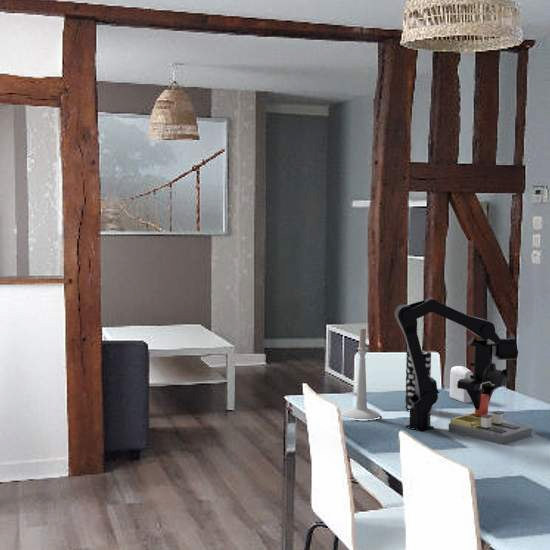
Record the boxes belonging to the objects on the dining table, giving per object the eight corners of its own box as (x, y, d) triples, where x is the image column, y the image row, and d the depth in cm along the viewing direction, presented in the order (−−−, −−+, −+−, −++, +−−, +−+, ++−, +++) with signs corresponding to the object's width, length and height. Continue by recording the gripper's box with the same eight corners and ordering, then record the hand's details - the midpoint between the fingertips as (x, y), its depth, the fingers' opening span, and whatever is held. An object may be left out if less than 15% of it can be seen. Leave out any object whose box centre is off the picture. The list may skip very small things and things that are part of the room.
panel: (503, 444, 245) (503, 431, 244) (448, 431, 259) (448, 418, 259) (531, 435, 255) (532, 422, 255) (477, 423, 270) (478, 411, 269)
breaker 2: (498, 424, 258) (499, 413, 257) (493, 422, 259) (493, 411, 259) (503, 422, 259) (503, 411, 259) (497, 421, 261) (497, 410, 260)
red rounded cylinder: (483, 414, 261) (484, 397, 260) (472, 411, 264) (473, 394, 263) (490, 412, 263) (491, 395, 263) (479, 409, 266) (480, 392, 266)
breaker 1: (486, 427, 253) (486, 416, 252) (480, 426, 254) (481, 415, 254) (491, 426, 254) (491, 415, 254) (485, 425, 256) (485, 414, 256)
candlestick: (335, 413, 281) (337, 325, 279) (369, 410, 286) (371, 323, 284) (352, 422, 269) (353, 330, 267) (387, 419, 274) (389, 328, 272)
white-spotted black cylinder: (431, 413, 284) (433, 354, 282) (406, 412, 284) (408, 354, 282) (427, 407, 292) (428, 350, 290) (403, 407, 292) (405, 350, 291)
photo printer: (474, 402, 300) (475, 368, 300) (464, 403, 299) (465, 369, 298) (457, 396, 310) (458, 363, 309) (447, 397, 308) (448, 364, 308)
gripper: (487, 366, 250) (486, 417, 251) (521, 360, 263) (520, 409, 264) (456, 361, 258) (455, 411, 260) (491, 355, 271) (489, 402, 272)
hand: (481, 408), depth 263 cm, fingers closed on red rounded cylinder, 4 cm apart
